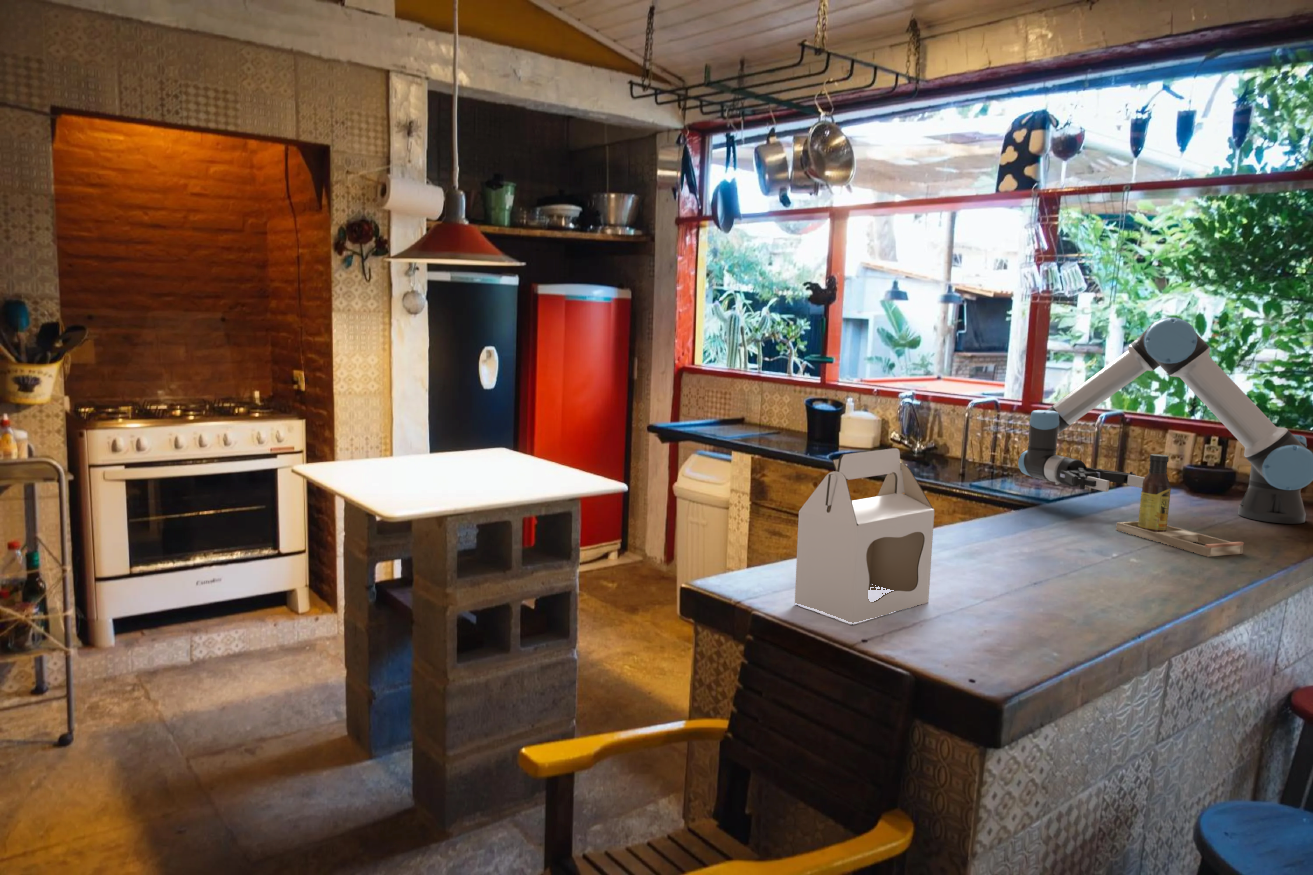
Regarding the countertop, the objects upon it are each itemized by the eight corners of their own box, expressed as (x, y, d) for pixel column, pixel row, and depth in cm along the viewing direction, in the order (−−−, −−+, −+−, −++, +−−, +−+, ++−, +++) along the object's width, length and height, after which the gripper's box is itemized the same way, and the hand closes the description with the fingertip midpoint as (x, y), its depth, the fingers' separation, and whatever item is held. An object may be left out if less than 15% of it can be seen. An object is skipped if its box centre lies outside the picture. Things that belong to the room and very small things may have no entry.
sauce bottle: (1163, 539, 218) (1172, 458, 215) (1135, 534, 222) (1142, 455, 219) (1168, 534, 223) (1176, 455, 220) (1139, 530, 227) (1147, 452, 224)
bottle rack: (1148, 527, 229) (1149, 518, 229) (1242, 553, 205) (1243, 542, 205) (1116, 530, 226) (1117, 520, 226) (1208, 556, 202) (1209, 545, 202)
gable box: (871, 585, 175) (879, 442, 171) (929, 602, 165) (939, 451, 161) (792, 605, 161) (799, 451, 157) (851, 626, 151) (860, 461, 147)
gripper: (1100, 482, 253) (1164, 497, 233) (1028, 486, 245) (1088, 501, 225) (1103, 456, 252) (1167, 468, 232) (1030, 458, 244) (1091, 472, 224)
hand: (1128, 485), depth 228 cm, fingers open, 13 cm apart
